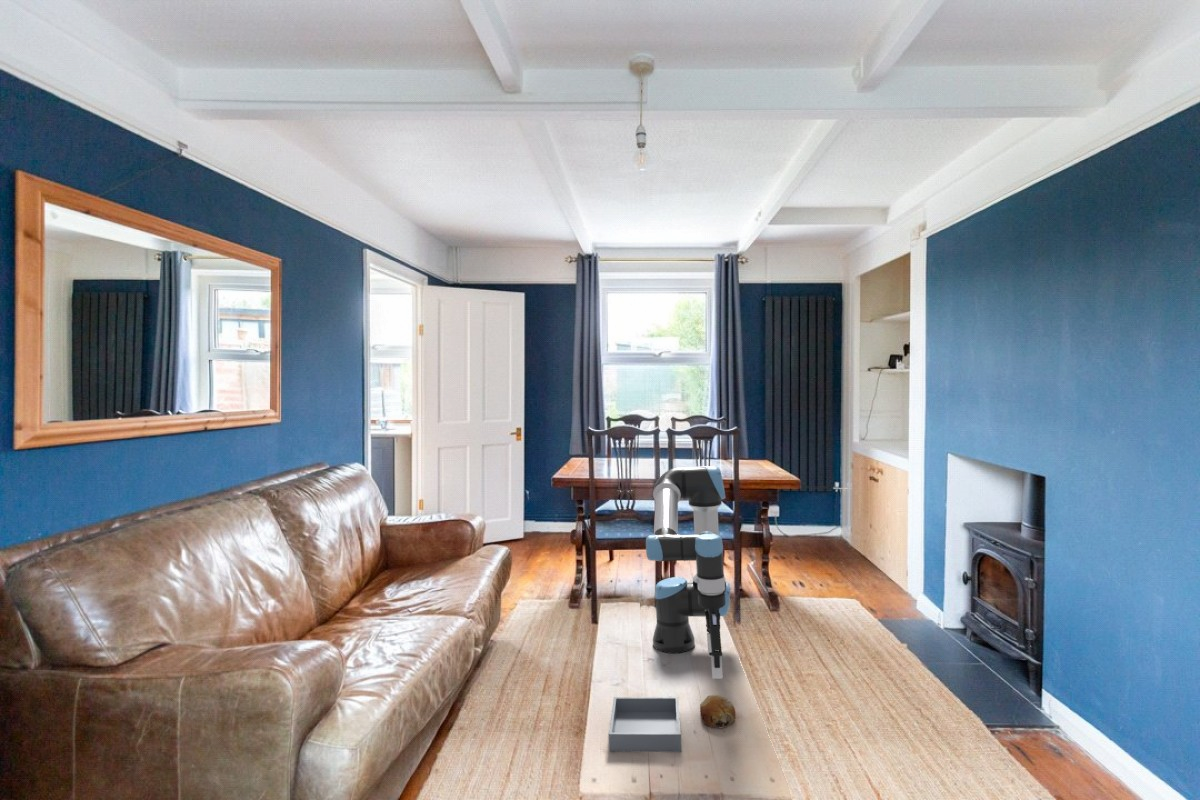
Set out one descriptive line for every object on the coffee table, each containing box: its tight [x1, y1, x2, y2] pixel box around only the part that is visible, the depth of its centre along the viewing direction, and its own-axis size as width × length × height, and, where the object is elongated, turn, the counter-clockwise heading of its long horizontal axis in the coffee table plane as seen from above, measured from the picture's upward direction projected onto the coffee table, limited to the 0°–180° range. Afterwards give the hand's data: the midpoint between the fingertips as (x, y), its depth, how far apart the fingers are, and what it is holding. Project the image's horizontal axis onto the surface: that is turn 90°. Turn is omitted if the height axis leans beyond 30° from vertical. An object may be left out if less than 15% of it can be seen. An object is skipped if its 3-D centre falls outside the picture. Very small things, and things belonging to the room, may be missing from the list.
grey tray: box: [608, 696, 682, 753], centre depth 164 cm, size 19×19×4 cm
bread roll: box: [699, 694, 737, 729], centre depth 168 cm, size 10×10×8 cm
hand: (715, 666), depth 167 cm, fingers open, 13 cm apart
